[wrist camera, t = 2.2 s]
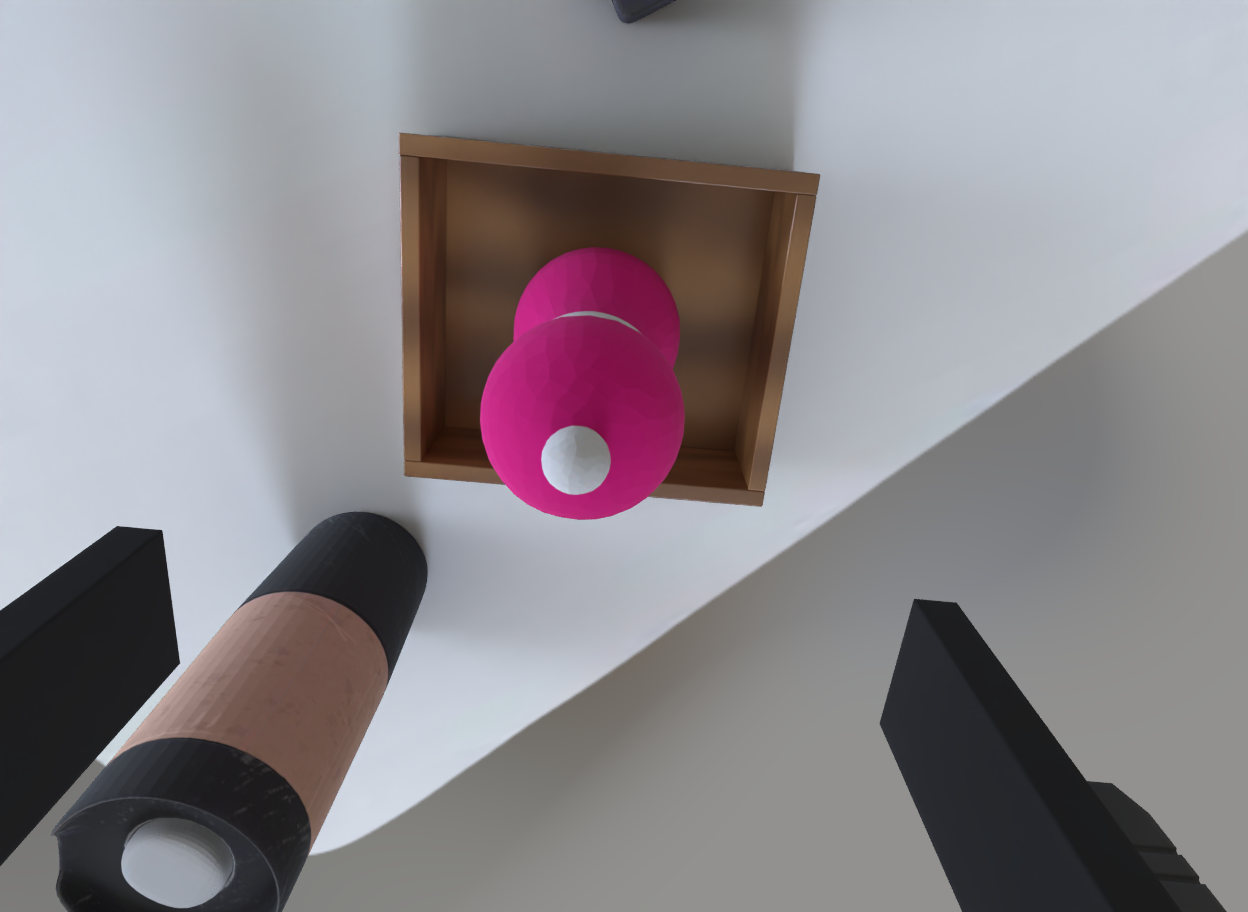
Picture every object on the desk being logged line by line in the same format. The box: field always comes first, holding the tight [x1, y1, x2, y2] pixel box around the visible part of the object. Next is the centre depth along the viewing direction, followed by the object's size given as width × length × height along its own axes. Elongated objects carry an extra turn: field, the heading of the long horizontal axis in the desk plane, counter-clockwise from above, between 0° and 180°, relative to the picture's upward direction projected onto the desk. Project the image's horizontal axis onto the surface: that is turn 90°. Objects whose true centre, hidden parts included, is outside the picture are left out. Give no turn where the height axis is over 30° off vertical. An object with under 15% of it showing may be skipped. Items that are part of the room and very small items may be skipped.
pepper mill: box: [480, 247, 685, 520], centre depth 28 cm, size 7×7×20 cm
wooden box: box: [399, 133, 820, 507], centre depth 35 cm, size 15×17×5 cm
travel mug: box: [51, 512, 427, 912], centre depth 34 cm, size 8×8×20 cm
